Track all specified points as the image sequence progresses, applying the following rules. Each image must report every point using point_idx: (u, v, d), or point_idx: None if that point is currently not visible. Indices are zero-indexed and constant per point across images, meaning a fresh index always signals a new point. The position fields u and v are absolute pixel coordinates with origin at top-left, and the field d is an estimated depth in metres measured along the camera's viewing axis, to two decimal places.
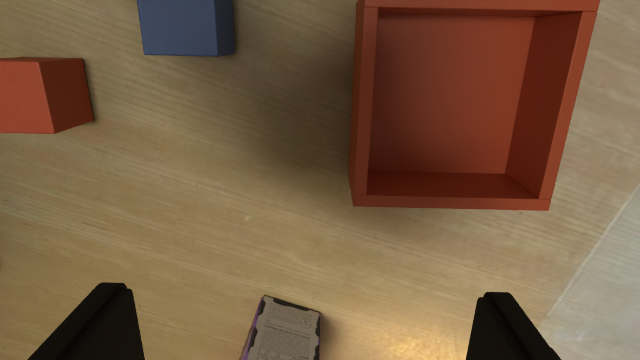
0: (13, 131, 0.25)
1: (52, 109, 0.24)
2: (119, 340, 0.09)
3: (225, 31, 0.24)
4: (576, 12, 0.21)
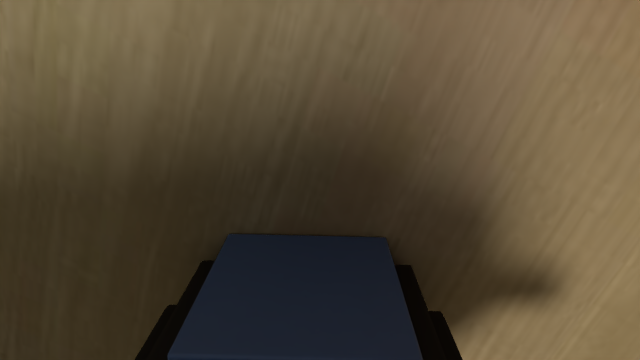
0: None
1: None
2: None
3: (338, 285, 0.09)
4: None
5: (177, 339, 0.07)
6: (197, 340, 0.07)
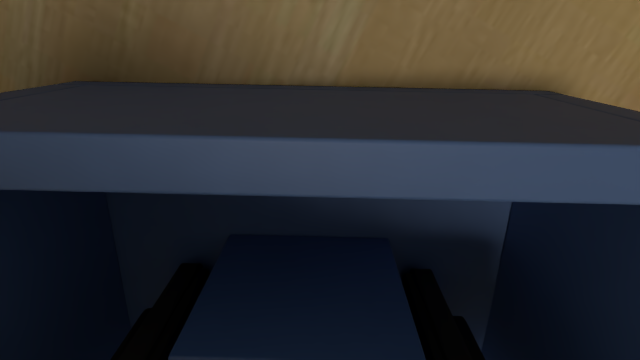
0: None
1: None
2: None
3: (340, 287, 0.08)
4: None
5: (178, 341, 0.07)
6: (198, 342, 0.07)
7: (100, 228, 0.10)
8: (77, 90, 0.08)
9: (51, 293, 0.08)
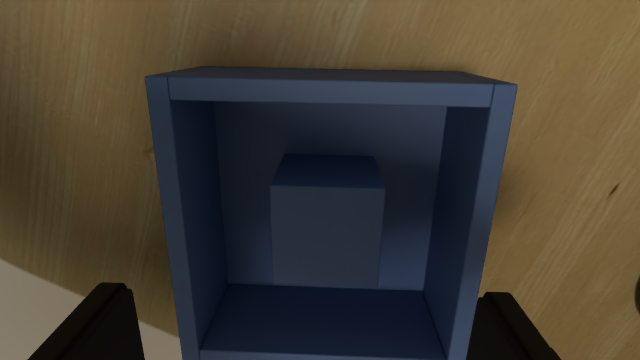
0: None
1: None
2: (120, 340, 0.09)
3: (346, 170, 0.17)
4: None
5: (272, 181, 0.15)
6: (281, 182, 0.15)
7: (214, 148, 0.18)
8: (215, 69, 0.17)
9: (200, 171, 0.17)
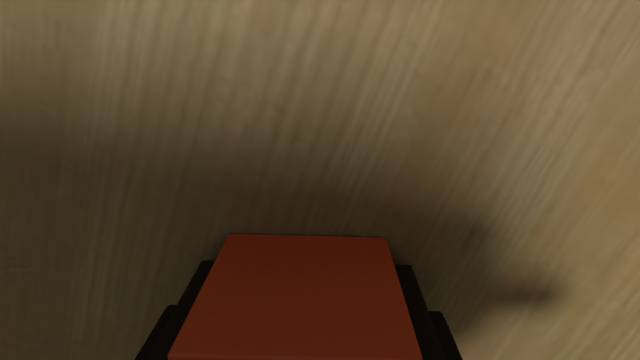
0: None
1: (337, 345, 0.07)
2: None
3: None
4: None
5: None
6: None
7: None
8: None
9: None
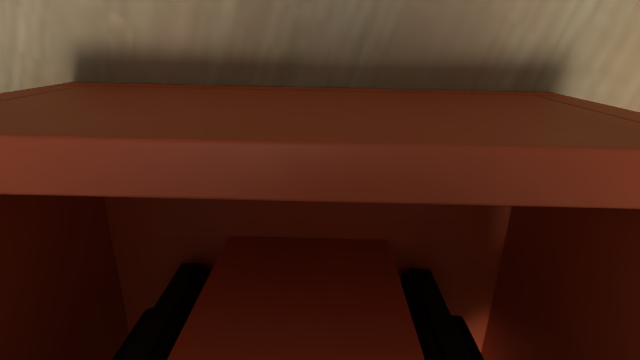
0: None
1: (339, 353, 0.07)
2: None
3: None
4: None
5: None
6: None
7: None
8: None
9: None
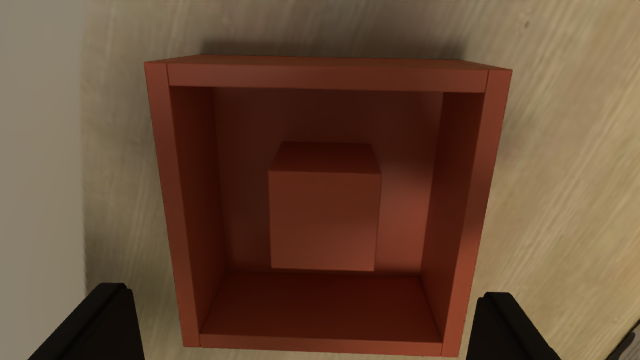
0: (374, 234, 0.16)
1: (343, 170, 0.15)
2: (120, 340, 0.09)
3: None
4: (175, 86, 0.14)
5: None
6: None
7: None
8: None
9: None
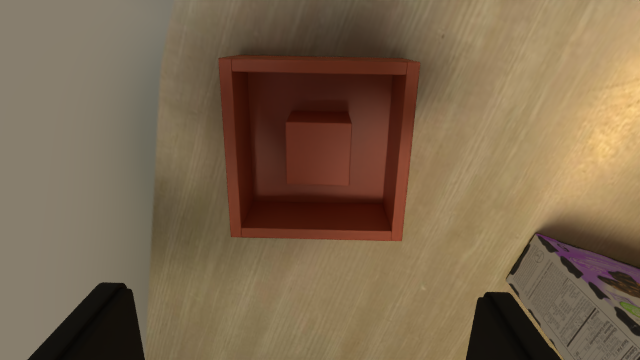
0: (348, 161, 0.26)
1: (329, 121, 0.26)
2: (120, 340, 0.09)
3: None
4: (234, 71, 0.24)
5: None
6: None
7: None
8: None
9: None
